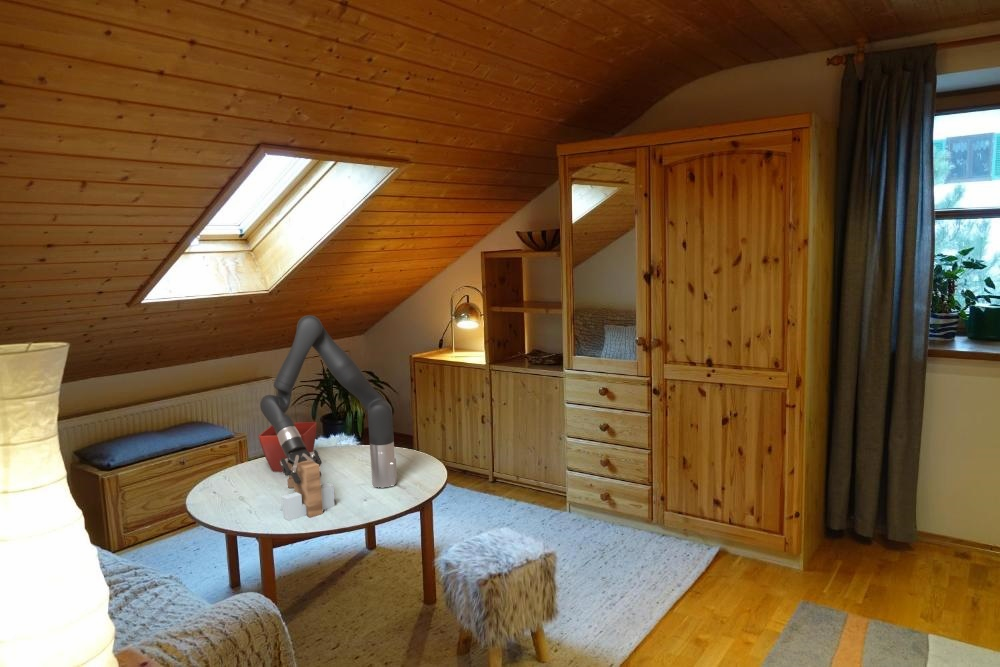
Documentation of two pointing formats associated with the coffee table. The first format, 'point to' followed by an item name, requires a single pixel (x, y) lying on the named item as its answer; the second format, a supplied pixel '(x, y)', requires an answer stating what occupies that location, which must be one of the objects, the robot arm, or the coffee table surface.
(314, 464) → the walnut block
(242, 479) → the coffee table surface
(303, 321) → the robot arm
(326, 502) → the white notched u-shaped brace
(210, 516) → the coffee table surface
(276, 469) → the plant pot
